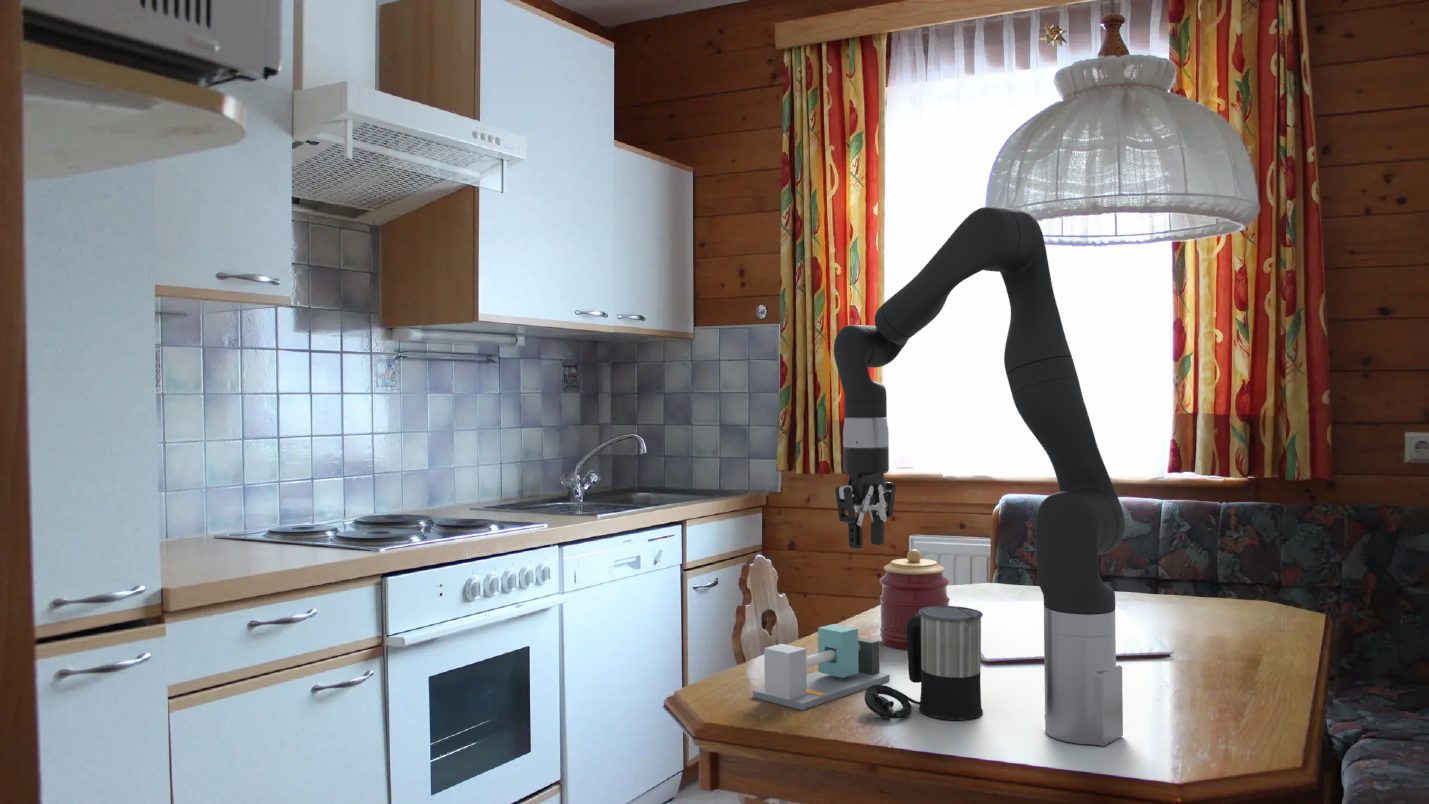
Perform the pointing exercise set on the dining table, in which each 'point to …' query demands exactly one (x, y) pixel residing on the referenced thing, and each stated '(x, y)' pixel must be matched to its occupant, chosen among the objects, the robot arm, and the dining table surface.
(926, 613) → the milk frother
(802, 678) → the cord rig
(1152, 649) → the dining table surface
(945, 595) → the canister
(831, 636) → the sleeve
